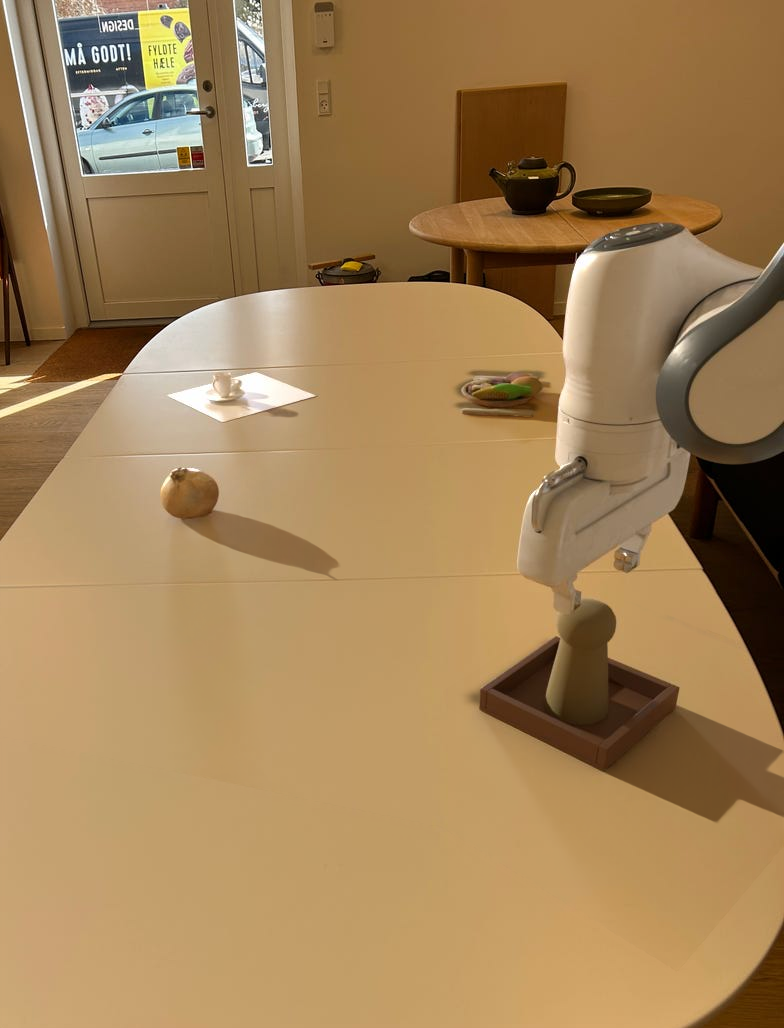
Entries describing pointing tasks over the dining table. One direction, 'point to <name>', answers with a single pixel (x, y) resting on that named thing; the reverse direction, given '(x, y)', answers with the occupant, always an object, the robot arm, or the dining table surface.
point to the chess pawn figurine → (581, 665)
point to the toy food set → (501, 393)
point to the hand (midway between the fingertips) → (596, 588)
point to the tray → (598, 744)
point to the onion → (189, 493)
